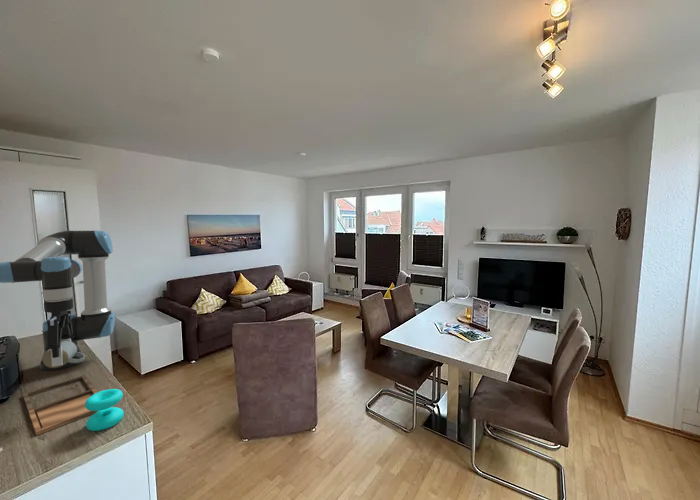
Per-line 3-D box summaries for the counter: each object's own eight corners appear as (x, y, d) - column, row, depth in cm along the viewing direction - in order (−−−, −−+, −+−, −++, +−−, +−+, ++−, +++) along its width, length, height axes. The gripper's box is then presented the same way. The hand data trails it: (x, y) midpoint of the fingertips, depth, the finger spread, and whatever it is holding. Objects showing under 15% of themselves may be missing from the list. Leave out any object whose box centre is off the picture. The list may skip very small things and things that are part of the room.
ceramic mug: (41, 371, 102) (40, 349, 102) (50, 361, 110) (50, 341, 109) (80, 365, 107) (80, 344, 107) (87, 356, 115) (87, 337, 114)
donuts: (119, 384, 108) (125, 395, 101) (120, 409, 109) (126, 422, 102) (82, 395, 100) (86, 407, 94) (84, 423, 101) (88, 437, 94)
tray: (22, 396, 116) (22, 393, 116) (84, 377, 131) (84, 375, 130) (36, 435, 95) (35, 432, 95) (108, 407, 110) (108, 404, 109)
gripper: (56, 294, 114) (60, 352, 115) (29, 307, 95) (34, 375, 97) (81, 293, 117) (85, 348, 119) (60, 304, 99) (65, 370, 101)
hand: (62, 360), depth 108 cm, fingers closed on ceramic mug, 8 cm apart
